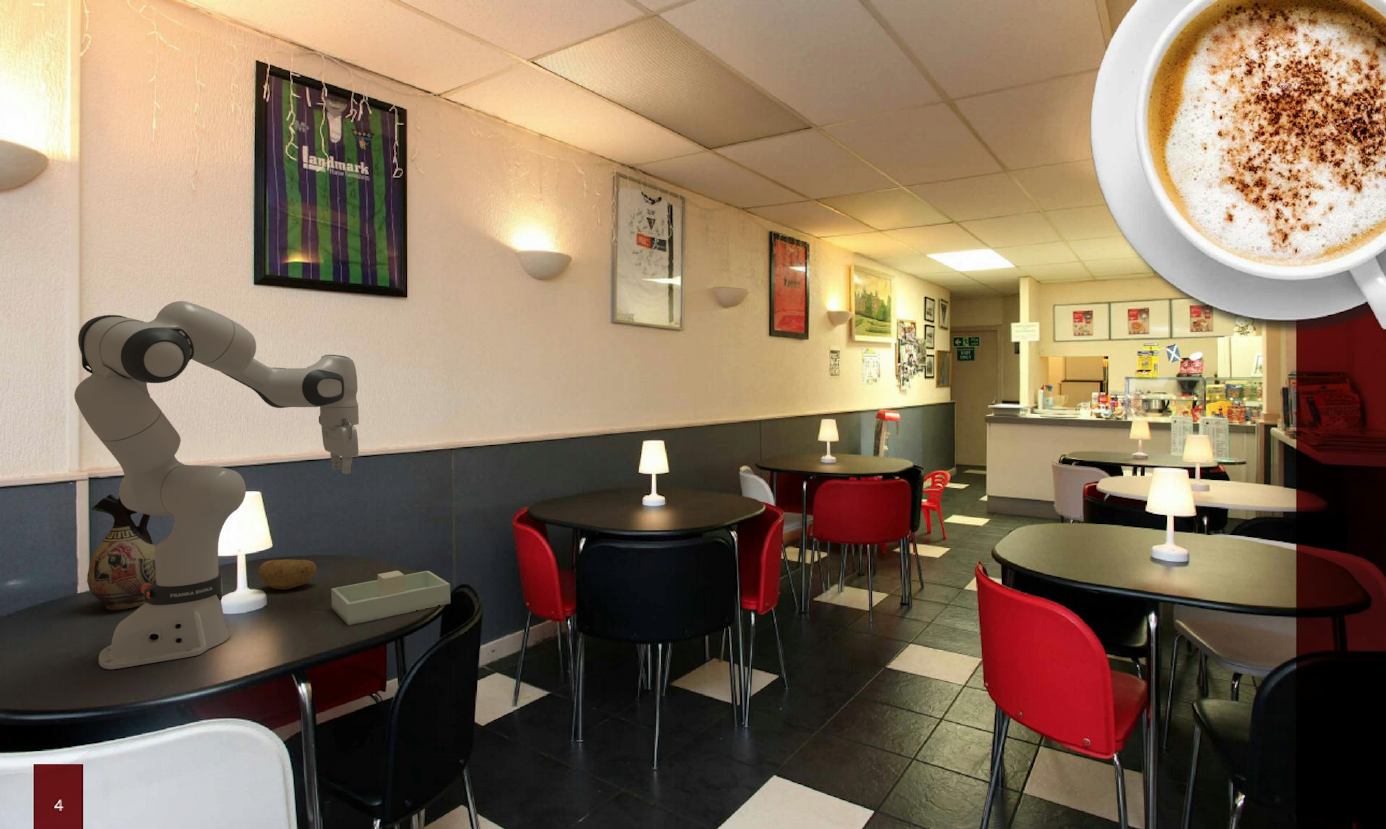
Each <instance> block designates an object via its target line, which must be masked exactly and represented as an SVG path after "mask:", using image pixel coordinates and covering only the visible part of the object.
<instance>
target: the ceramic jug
mask: <svg viewBox="0 0 1386 829" xmlns="http://www.w3.org/2000/svg"><path fill="white" fill-rule="evenodd" d="M90 510H91V511H95V512H100V513H105V514H109V515H110V516H112V517H113V519H114V520H113V526H112V527H111V529H110V531H109V532H107V534H106V536H104V538H103V540H101V543H100V544H99V545H98V547H97V549H96V551H95V552H94V553H93V556H92V558H91V561H90V563H89V567H88V572H87V575H86V576H87V577H86V578H87V579H86V581H87V587H88V589H89V591H90V593H91V594H92V595H93V596H94V598H96V599H97V600H99V601H100V602H101V603H102V604H104V605H105V609H106V610H108V611H109V610H110V611H118V610H128V608H129V609H133V608H136V607H140V606H142V605H143V604H144V603H145V598H144V593H142V591H141V586H143V584H145V583H151V584H154V583H155V582H156V573H155V554H154V552H155V548H156V546H157V545H156V544H154V542H153V540H152V537H151V534H150V532H149V530H148V523H149V520H150V517H151V515H147V514H143V513H142V517H141V518H140V521H139V525H138V526H137V525H136V523H135V522H134V520H133V519H132V516H131V515H135V514H137V513H138V512H136V511H132V510H130V509H128V508H126V507H125V506H124V505H123V504H122V502H121V500H120V496H118V498H116V496H114V495H113V494H108V495H107V496H106V497H103V498H101V499H100V500H99V501H98V502H97V503H96V504H95V505H94V506H92V507H91V508H90ZM151 584H150V585H151Z"/></svg>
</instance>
